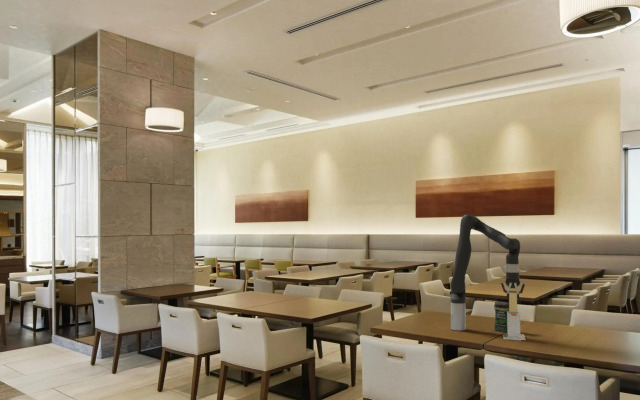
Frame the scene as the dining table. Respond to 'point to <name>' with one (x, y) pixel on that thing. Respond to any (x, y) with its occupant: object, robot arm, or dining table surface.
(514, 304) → the post
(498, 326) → the coffee jar
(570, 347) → the dining table surface
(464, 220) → the robot arm
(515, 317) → the stand
